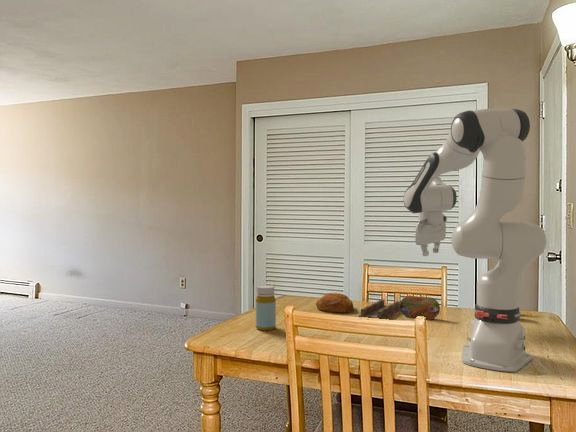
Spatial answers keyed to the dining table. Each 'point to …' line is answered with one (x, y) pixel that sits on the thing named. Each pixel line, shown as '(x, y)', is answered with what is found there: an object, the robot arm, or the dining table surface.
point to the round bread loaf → (335, 303)
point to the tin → (419, 307)
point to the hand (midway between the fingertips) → (430, 254)
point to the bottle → (265, 308)
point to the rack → (380, 310)
